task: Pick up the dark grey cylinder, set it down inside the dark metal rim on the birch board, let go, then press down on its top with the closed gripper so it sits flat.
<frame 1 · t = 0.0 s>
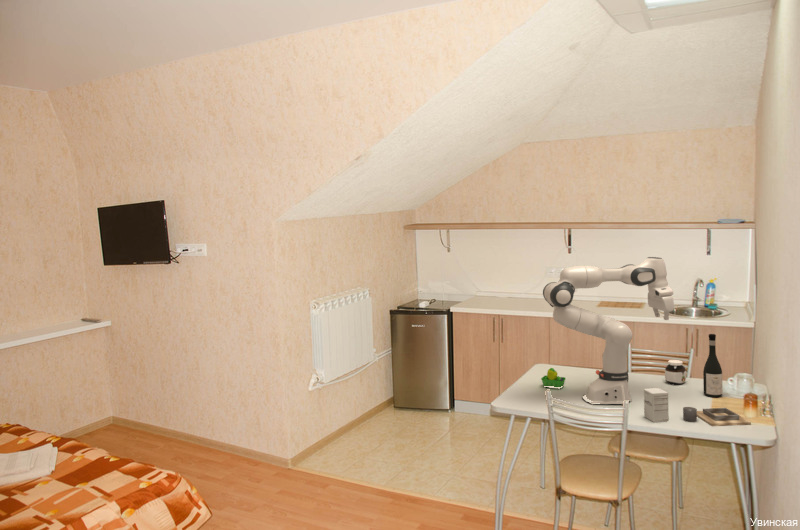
hand: (661, 318, 268), 39 cm above the table, tool pointing down, fingers open, 8 cm apart
spread jar: (674, 382, 295), on the table
dark grey cylinder: (690, 420, 239), on the table
holder board: (720, 418, 238), on the table
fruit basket: (553, 388, 295), on the table
wine bottle: (713, 395, 270), on the table
supplement box: (656, 419, 242), on the table
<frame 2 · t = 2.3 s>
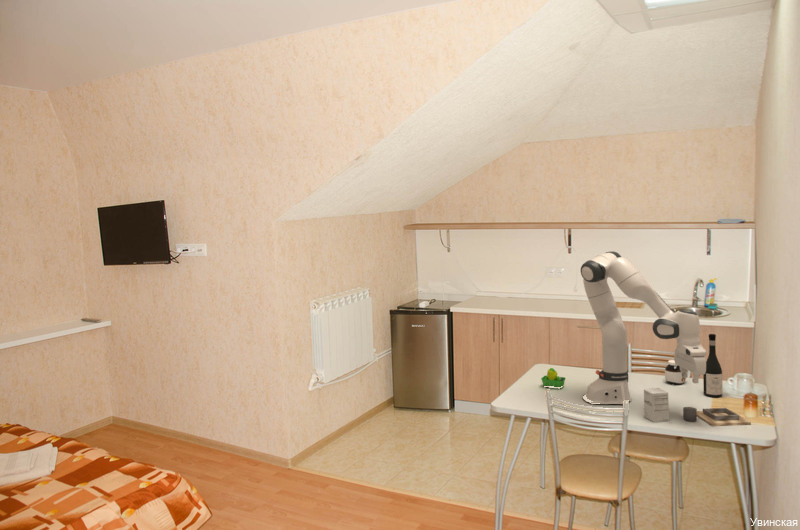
hand: (689, 380, 237), 17 cm above the table, tool pointing down, fingers open, 8 cm apart
nothing on the table moved.
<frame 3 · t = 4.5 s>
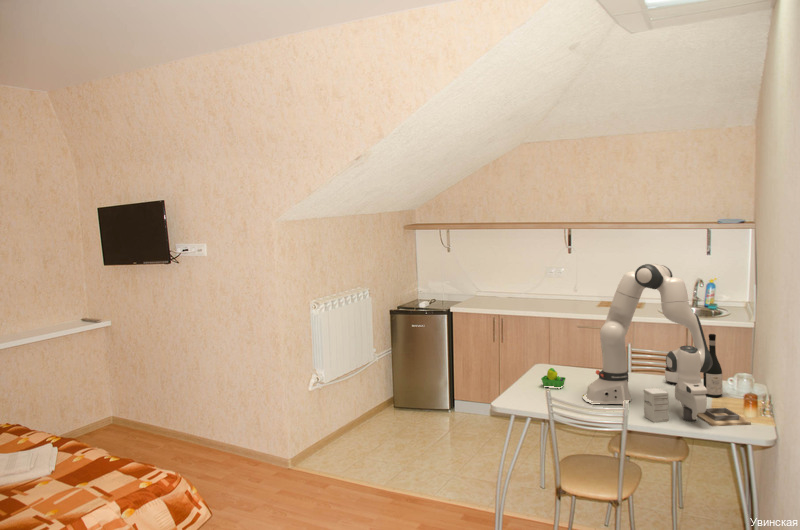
hand: (689, 416, 238), 2 cm above the table, tool pointing down, fingers closed on dark grey cylinder, 5 cm apart
dark grey cylinder: (690, 420, 239), on the table, touching gripper
everything else where it was.
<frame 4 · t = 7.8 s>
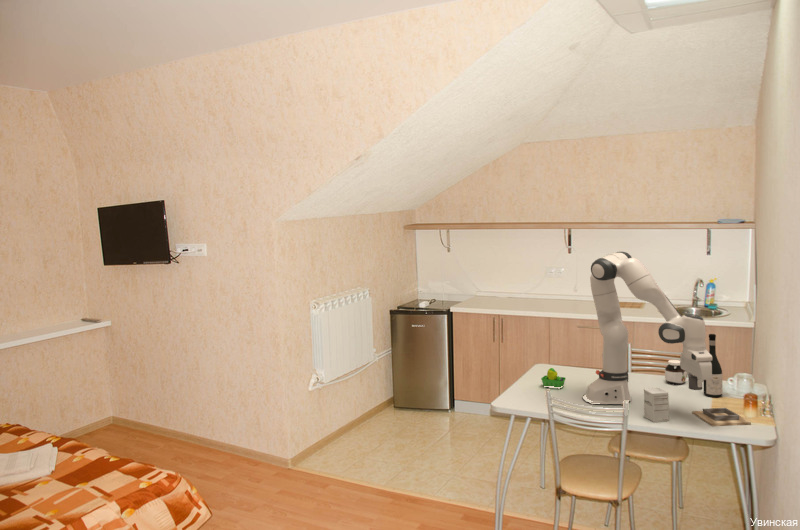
hand: (695, 384, 237), 15 cm above the table, tool pointing down, fingers closed on dark grey cylinder, 5 cm apart
dark grey cylinder: (695, 388, 237), point 14 cm above the table, touching gripper
everything else where it was.
when the fingers open (4 cm above the table, at t = 11.4 s): dark grey cylinder drops 1 cm, resting on holder board.
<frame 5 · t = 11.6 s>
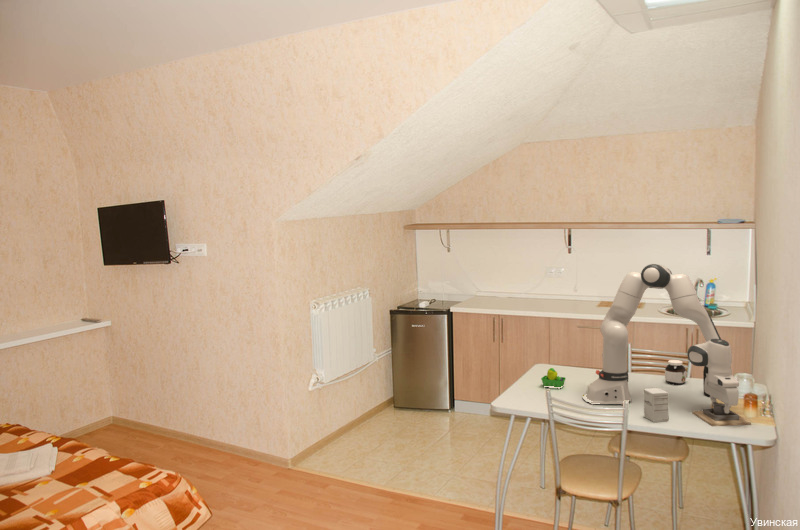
hand: (720, 409, 238), 4 cm above the table, tool pointing down, fingers open, 7 cm apart
dark grey cylinder: (720, 416, 238), point 1 cm above the table, touching holder board
everything else where it was.
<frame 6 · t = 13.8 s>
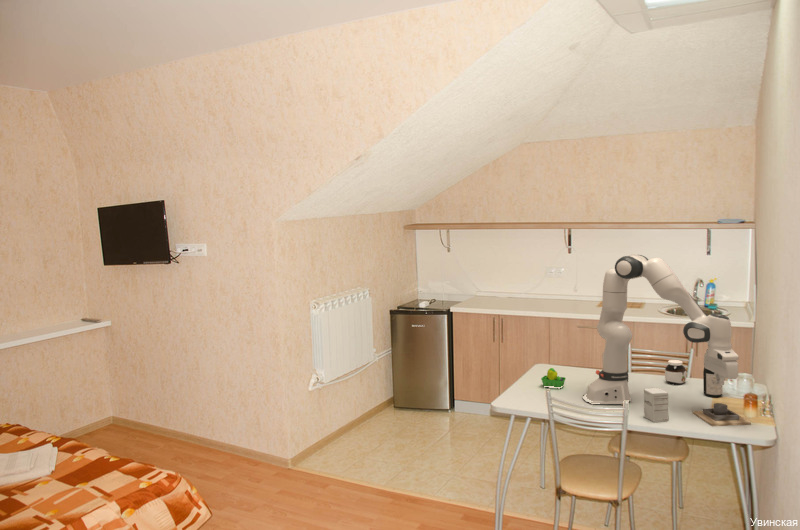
hand: (720, 384, 237), 15 cm above the table, tool pointing down, fingers closed
nothing on the table moved.
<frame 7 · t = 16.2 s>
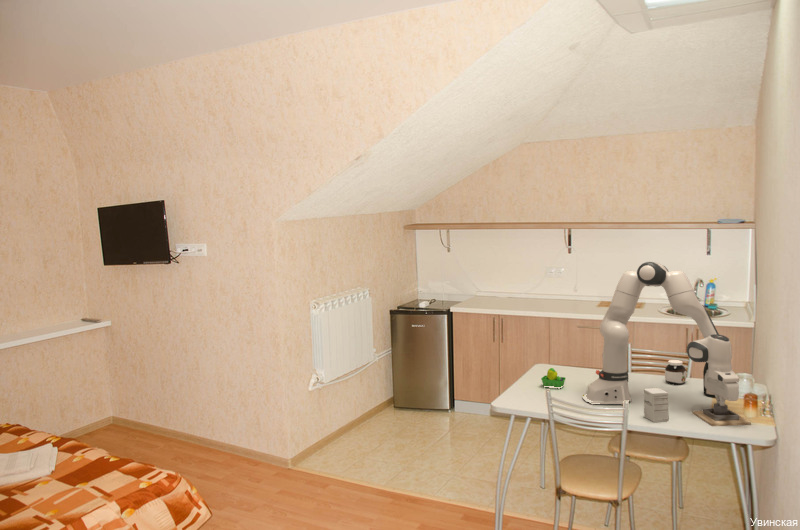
hand: (720, 405, 238), 6 cm above the table, tool pointing down, fingers closed, pressing on dark grey cylinder
dark grey cylinder: (720, 416, 238), point 1 cm above the table, touching gripper, holder board
everything else where it was.
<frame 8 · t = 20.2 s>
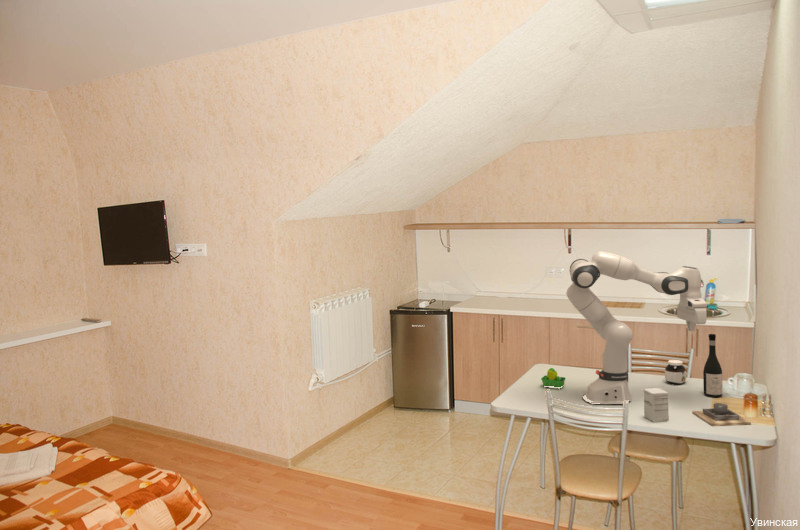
hand: (691, 330, 258), 34 cm above the table, tool pointing down, fingers closed
dark grey cylinder: (720, 416, 238), point 1 cm above the table, touching holder board
everything else where it was.
at the end: dark grey cylinder 0.0 cm off-centre on the holder board, point 1.0 cm above the holder board's base; dark grey cylinder tilted 0°; the gripper is holding nothing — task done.
